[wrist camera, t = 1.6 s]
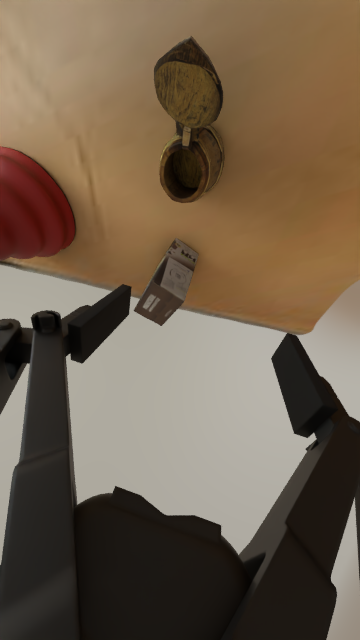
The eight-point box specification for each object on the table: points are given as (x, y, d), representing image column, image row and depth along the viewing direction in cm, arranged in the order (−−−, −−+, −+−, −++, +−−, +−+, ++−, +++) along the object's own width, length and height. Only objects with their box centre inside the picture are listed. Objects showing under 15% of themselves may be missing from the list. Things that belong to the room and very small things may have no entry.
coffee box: (175, 236, 41) (152, 280, 30) (199, 254, 43) (186, 301, 32) (156, 266, 47) (131, 311, 36) (178, 280, 49) (161, 327, 38)
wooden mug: (247, 84, 25) (256, 53, 13) (213, 200, 35) (199, 245, 23) (181, 64, 25) (125, 13, 13) (166, 186, 35) (126, 223, 23)
